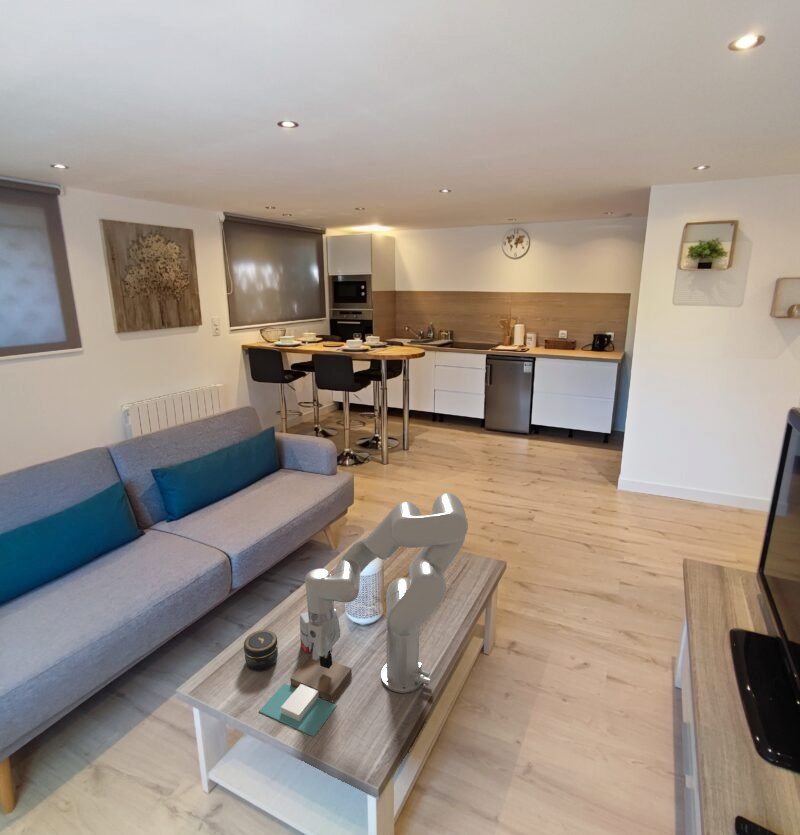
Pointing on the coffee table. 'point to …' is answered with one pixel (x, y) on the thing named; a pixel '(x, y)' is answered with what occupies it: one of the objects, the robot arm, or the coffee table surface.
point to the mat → (309, 721)
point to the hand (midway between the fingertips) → (326, 665)
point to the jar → (261, 650)
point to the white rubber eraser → (299, 702)
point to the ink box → (304, 632)
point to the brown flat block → (322, 677)
